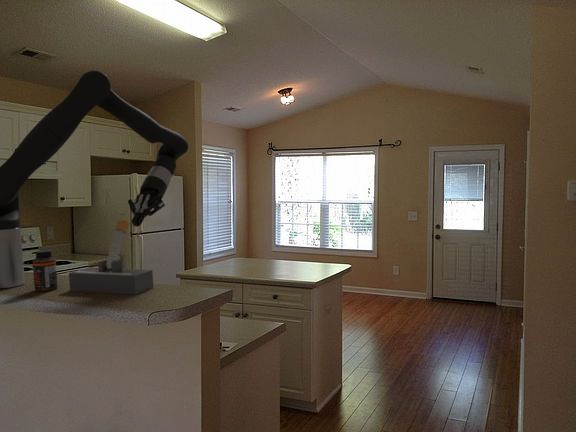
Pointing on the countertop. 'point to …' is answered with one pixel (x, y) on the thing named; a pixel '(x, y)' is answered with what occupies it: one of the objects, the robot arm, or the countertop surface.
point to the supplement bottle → (44, 271)
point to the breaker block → (111, 279)
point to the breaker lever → (117, 243)
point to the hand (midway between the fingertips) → (135, 224)
